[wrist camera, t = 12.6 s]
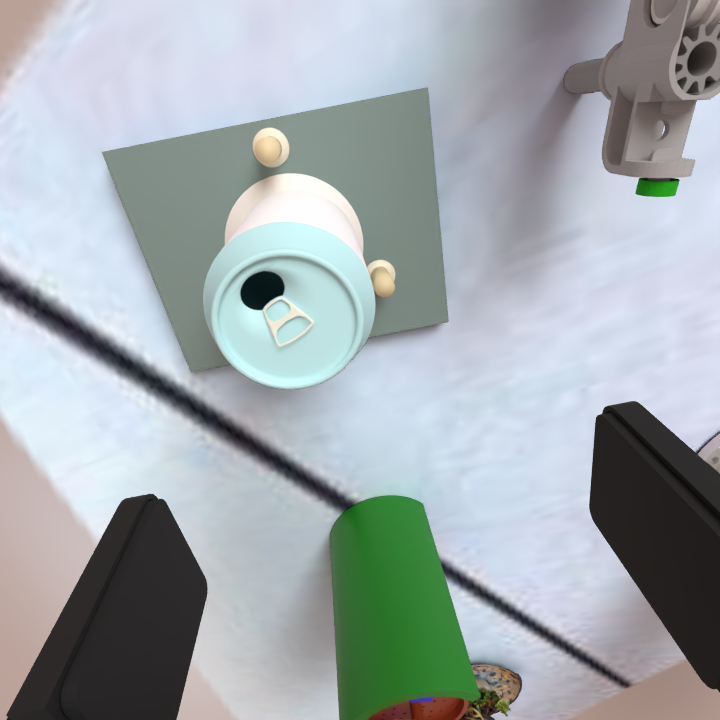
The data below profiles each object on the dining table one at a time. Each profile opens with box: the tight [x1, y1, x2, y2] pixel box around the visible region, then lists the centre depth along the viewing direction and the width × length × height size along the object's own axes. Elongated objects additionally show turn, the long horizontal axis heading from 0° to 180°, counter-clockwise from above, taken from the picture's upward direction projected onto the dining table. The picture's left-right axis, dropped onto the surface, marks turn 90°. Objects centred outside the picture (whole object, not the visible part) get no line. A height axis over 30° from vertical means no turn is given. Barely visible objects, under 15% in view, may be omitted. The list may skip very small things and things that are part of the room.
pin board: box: [102, 87, 449, 372], centre depth 28 cm, size 14×18×4 cm
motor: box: [330, 496, 481, 720], centre depth 34 cm, size 10×9×20 cm
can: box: [203, 190, 375, 389], centre depth 23 cm, size 7×7×12 cm
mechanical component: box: [564, 0, 720, 197], centre depth 22 cm, size 3×10×10 cm, turn 2°
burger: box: [459, 664, 522, 720], centre depth 53 cm, size 12×12×8 cm
